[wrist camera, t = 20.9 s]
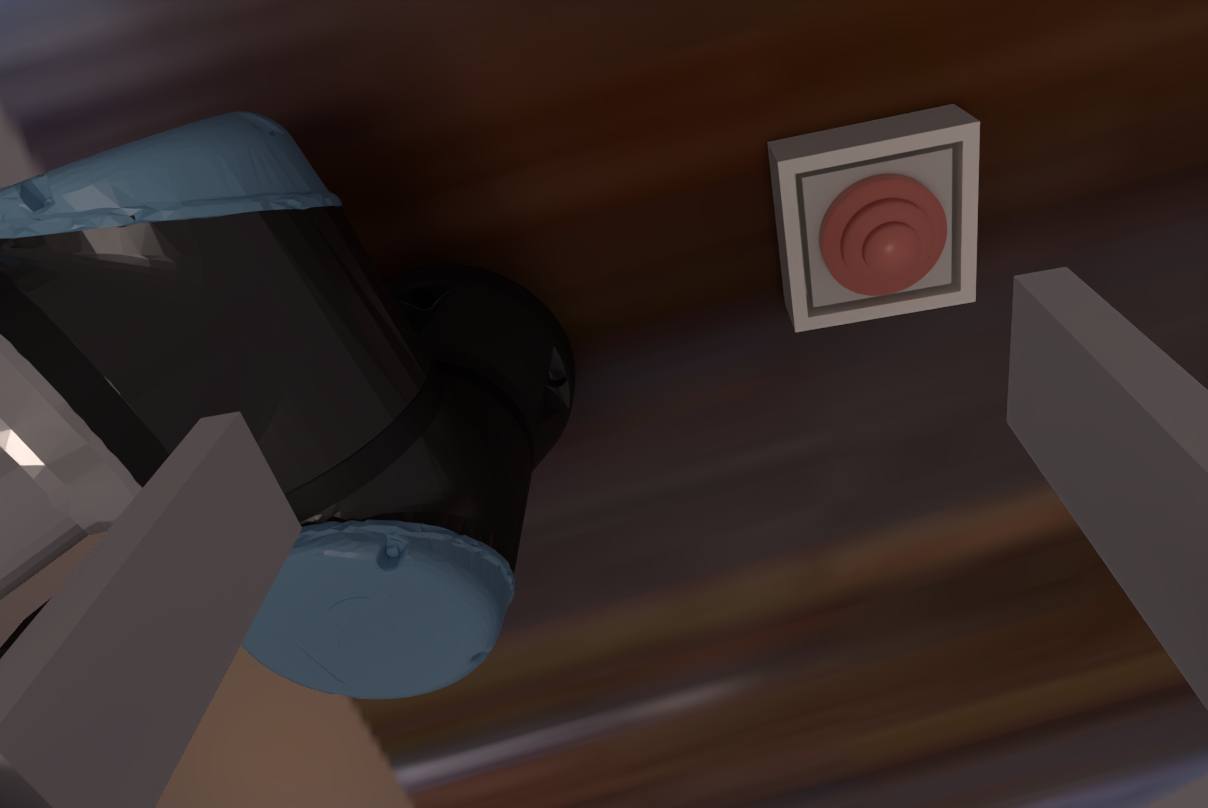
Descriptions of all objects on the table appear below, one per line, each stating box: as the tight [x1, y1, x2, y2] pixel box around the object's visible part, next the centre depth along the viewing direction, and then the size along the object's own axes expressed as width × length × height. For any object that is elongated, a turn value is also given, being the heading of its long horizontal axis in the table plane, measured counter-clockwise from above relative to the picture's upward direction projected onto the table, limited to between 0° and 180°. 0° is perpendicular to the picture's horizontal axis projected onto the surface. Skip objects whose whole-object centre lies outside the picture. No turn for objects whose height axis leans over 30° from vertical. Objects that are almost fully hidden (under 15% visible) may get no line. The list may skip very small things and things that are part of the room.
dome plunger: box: [796, 144, 952, 307], centre depth 44 cm, size 8×8×5 cm
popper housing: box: [767, 104, 980, 332], centre depth 46 cm, size 10×10×4 cm
